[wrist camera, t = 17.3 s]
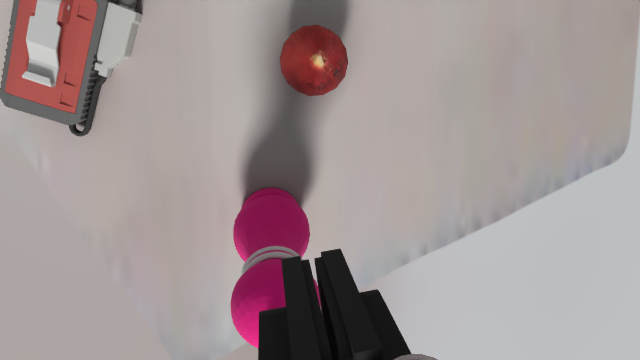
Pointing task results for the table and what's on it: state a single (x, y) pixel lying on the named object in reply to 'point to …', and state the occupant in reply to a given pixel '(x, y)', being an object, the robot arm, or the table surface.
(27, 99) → the walkie-talkie
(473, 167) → the table surface
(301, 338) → the robot arm
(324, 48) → the onion
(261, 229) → the pepper mill
